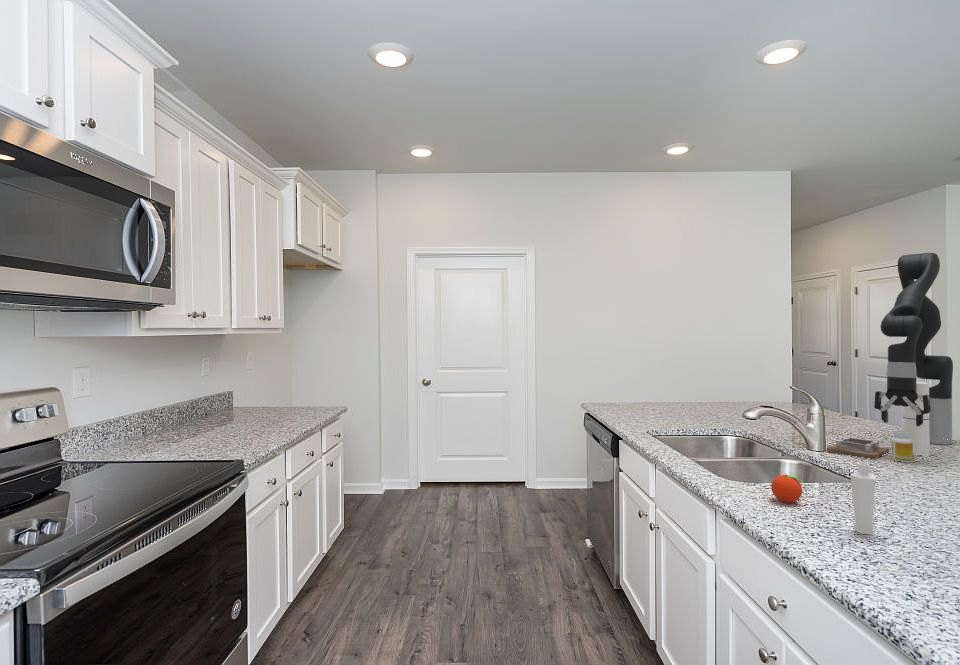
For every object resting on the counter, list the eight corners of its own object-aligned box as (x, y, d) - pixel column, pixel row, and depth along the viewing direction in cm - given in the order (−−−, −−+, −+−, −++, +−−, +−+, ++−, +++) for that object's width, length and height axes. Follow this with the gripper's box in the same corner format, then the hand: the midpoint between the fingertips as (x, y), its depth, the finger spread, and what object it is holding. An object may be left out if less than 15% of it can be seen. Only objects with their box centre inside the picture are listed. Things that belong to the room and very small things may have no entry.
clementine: (807, 501, 130) (807, 474, 130) (807, 509, 125) (806, 480, 125) (772, 495, 135) (772, 469, 135) (770, 503, 129) (769, 476, 129)
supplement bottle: (917, 462, 164) (917, 433, 164) (900, 463, 164) (900, 433, 164) (903, 458, 170) (903, 430, 170) (887, 458, 170) (887, 430, 170)
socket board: (842, 445, 189) (842, 435, 189) (888, 452, 177) (888, 441, 177) (826, 452, 180) (826, 440, 180) (874, 459, 169) (874, 448, 169)
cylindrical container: (898, 452, 178) (897, 382, 177) (909, 450, 181) (908, 381, 180) (922, 457, 171) (922, 384, 171) (933, 454, 174) (933, 382, 174)
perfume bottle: (851, 525, 114) (851, 459, 114) (876, 530, 112) (875, 463, 111) (850, 531, 111) (849, 464, 111) (875, 536, 108) (875, 467, 108)
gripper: (932, 376, 163) (933, 426, 163) (878, 373, 175) (879, 420, 175) (926, 377, 159) (926, 428, 159) (871, 374, 170) (871, 422, 170)
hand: (901, 424), depth 167 cm, fingers open, 8 cm apart
